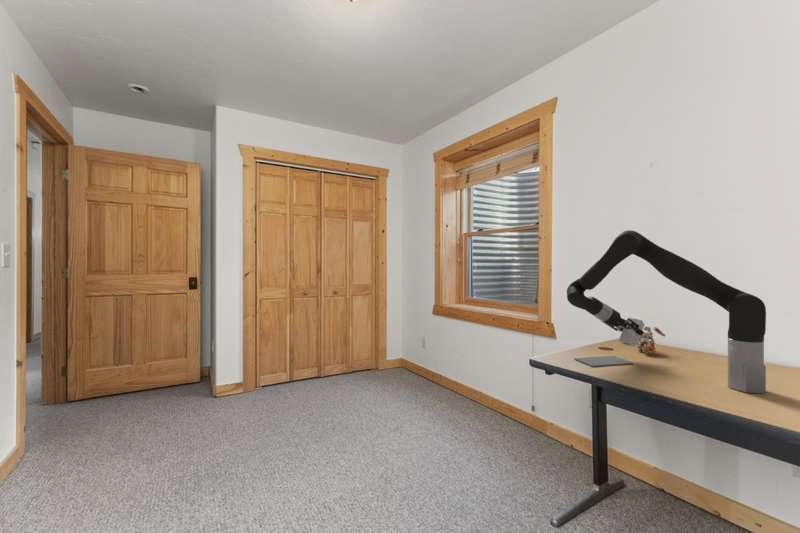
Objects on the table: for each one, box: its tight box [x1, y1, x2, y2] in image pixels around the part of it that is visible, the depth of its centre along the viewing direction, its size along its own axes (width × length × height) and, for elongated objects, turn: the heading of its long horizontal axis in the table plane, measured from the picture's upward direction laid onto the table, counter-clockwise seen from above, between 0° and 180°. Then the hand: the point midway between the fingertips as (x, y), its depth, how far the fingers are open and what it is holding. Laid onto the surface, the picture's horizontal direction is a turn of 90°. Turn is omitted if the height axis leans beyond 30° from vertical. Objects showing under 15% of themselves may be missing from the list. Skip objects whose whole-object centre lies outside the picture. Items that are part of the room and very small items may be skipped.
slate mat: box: [574, 355, 634, 368], centre depth 165 cm, size 20×12×1 cm, turn 99°
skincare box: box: [618, 317, 645, 348], centre depth 167 cm, size 6×4×12 cm
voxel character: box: [636, 326, 666, 356], centre depth 179 cm, size 11×10×15 cm
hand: (635, 333), depth 167 cm, fingers closed on skincare box, 7 cm apart
